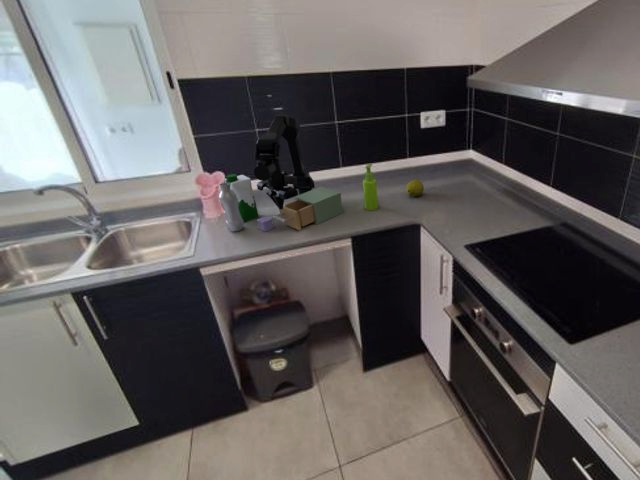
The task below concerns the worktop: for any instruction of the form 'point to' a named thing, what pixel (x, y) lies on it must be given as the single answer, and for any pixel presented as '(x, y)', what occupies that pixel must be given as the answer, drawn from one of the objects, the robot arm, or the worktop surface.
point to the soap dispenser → (370, 190)
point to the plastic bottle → (230, 207)
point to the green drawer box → (323, 203)
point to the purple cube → (265, 223)
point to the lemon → (415, 188)
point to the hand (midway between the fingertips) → (281, 209)
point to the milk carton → (243, 196)
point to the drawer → (296, 214)
